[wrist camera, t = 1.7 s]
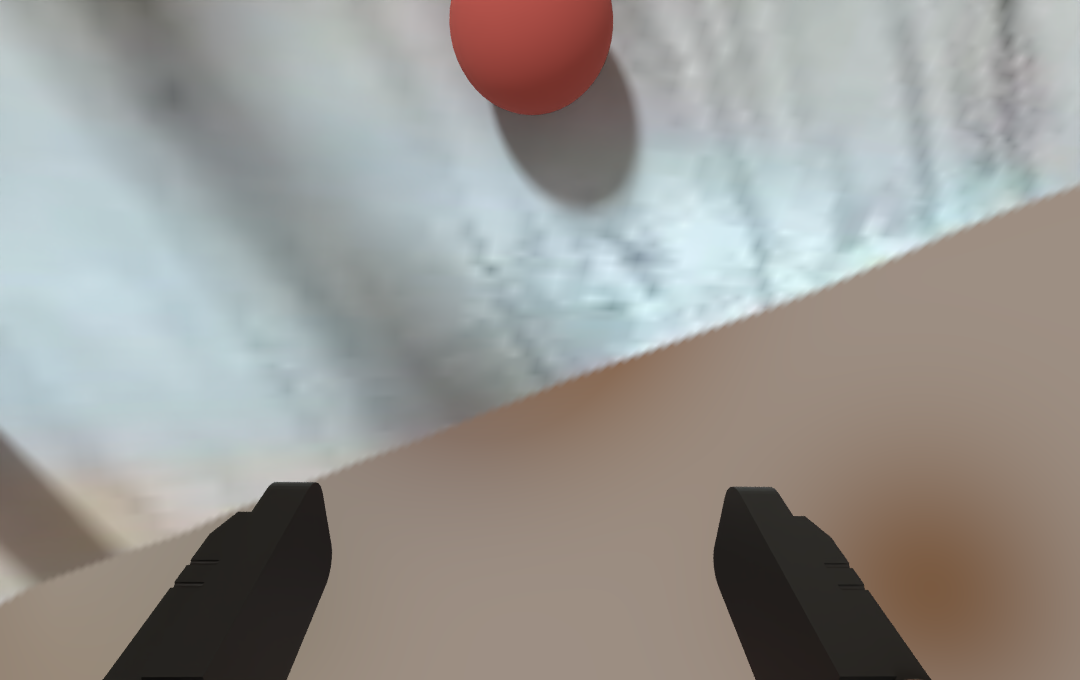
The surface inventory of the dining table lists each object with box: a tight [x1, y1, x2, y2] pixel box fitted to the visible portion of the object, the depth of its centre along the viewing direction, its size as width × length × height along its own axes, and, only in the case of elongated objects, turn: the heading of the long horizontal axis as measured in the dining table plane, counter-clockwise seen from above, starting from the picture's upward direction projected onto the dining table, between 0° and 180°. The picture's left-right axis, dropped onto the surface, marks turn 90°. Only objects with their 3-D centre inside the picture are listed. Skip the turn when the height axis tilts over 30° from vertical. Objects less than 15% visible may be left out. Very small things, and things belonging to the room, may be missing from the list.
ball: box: [450, 0, 613, 115], centre depth 20 cm, size 6×6×6 cm
